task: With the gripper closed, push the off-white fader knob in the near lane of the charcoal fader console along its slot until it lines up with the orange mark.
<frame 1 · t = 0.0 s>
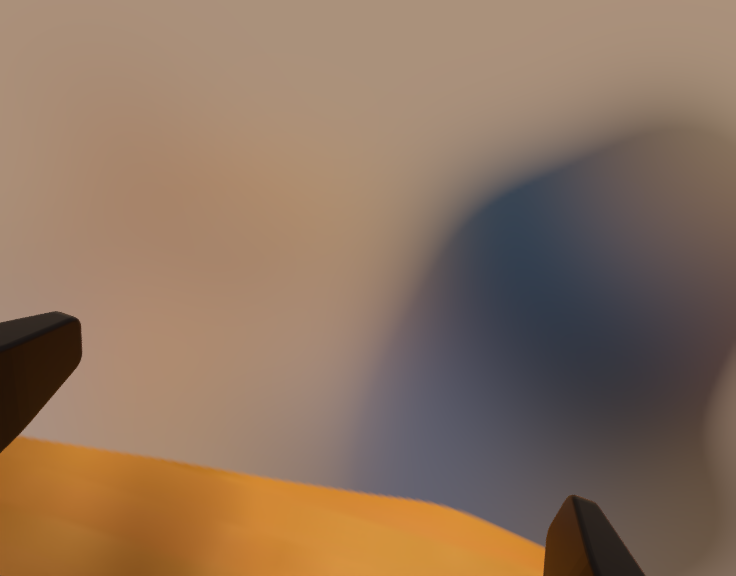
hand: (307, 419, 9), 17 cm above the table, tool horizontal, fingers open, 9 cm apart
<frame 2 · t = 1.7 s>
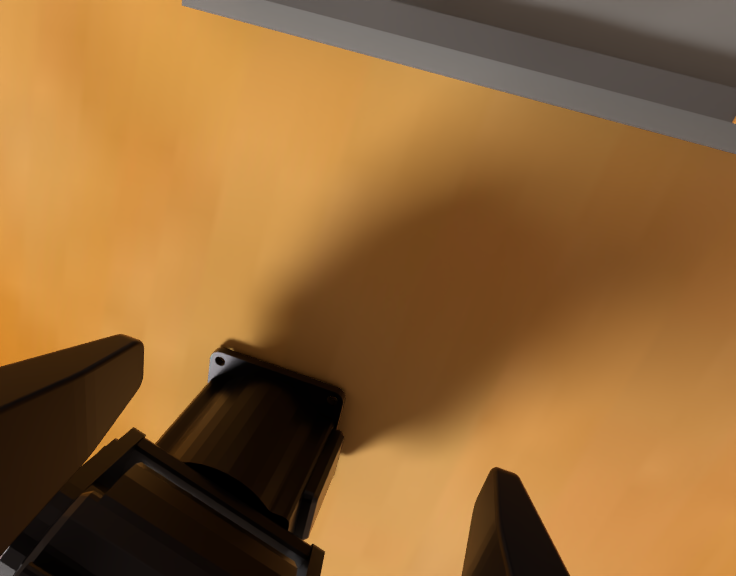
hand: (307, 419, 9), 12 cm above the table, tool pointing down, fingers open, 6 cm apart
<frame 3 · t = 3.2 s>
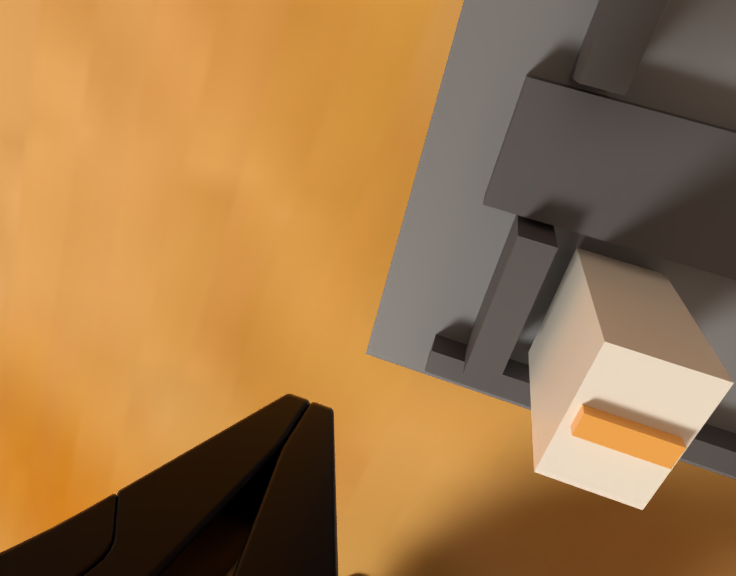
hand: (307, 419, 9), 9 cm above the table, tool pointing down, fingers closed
fader a: (606, 367, 13), point 4 cm above the table, slide at 0.0 cm
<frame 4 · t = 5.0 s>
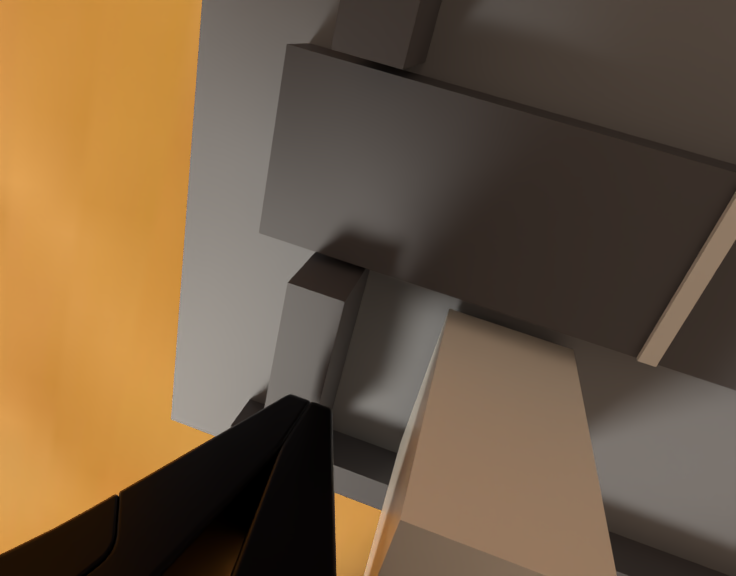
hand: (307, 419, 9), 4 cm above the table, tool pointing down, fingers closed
fader a: (469, 501, 8), point 4 cm above the table, slide at 0.9 cm, touching gripper
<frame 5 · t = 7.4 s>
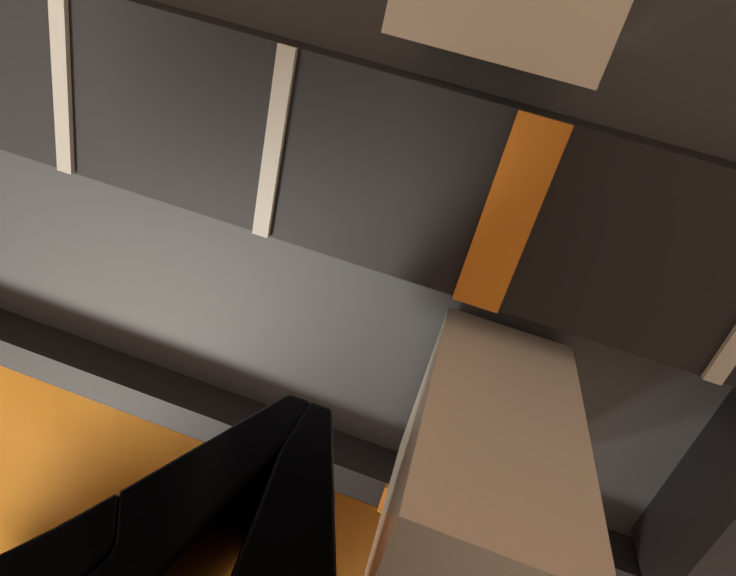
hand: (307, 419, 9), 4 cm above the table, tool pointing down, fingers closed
fader a: (469, 498, 8), point 4 cm above the table, slide at 11.8 cm, touching gripper
console: (321, 125, 11), on the table
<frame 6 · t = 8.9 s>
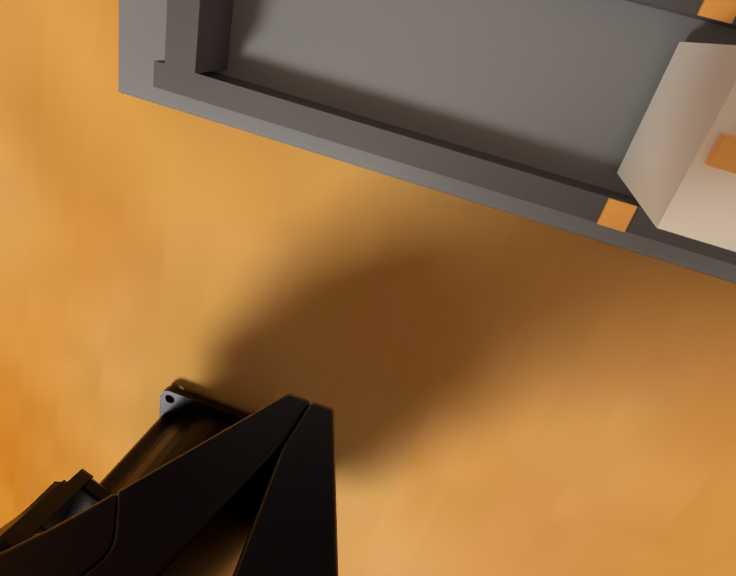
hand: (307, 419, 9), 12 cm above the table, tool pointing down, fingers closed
fader a: (722, 140, 12), point 4 cm above the table, slide at 11.9 cm
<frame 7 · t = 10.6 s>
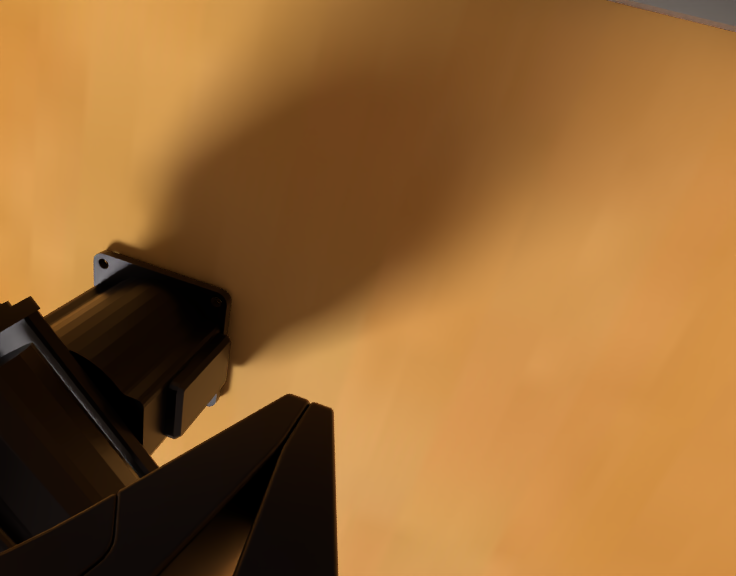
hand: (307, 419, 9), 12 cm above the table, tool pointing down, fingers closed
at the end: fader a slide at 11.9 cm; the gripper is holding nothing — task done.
